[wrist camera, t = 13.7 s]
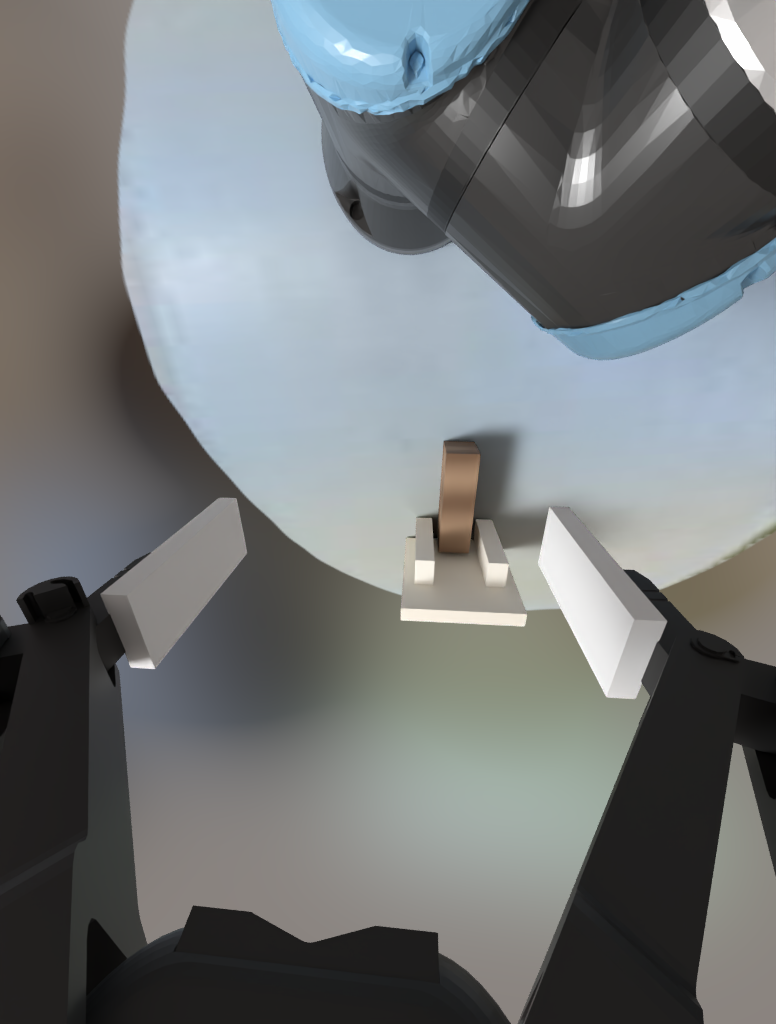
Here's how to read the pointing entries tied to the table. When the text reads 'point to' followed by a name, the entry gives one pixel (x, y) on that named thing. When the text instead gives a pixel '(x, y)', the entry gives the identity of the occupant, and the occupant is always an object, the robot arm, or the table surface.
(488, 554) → the white twin-rail base
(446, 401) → the table surface
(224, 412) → the table surface
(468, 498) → the brown rectangular block
